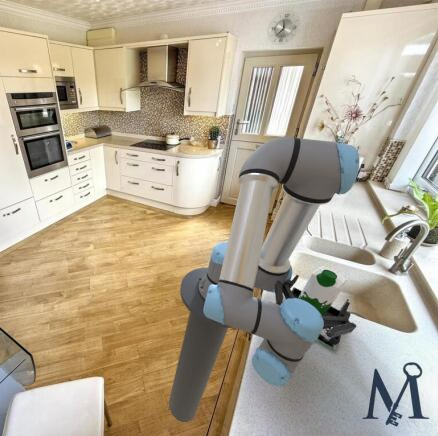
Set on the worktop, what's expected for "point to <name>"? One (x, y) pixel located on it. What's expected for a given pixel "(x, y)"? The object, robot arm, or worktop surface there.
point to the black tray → (330, 312)
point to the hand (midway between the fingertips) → (319, 290)
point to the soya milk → (322, 289)
